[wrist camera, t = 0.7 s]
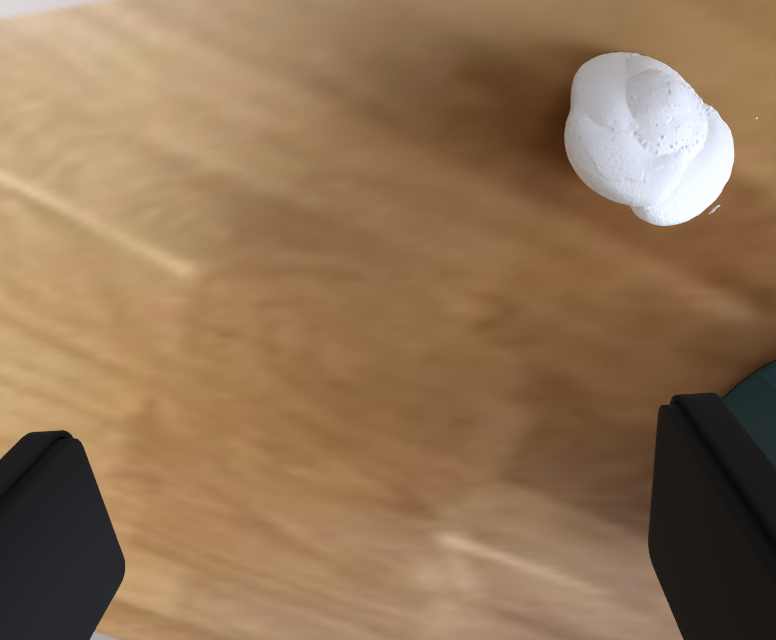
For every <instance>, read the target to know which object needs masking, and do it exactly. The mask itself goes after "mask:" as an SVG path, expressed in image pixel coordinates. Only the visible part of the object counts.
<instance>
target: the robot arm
mask: <svg viewBox="0 0 776 640" xmlns="http://www.w3.org/2000/svg"><path fill="white" fill-rule="evenodd" d="M648 546H649V554H650V558H651V562H652V565H653V567H654V570H655V572H656V575H657V577H658V579H659V582H660V584H661V587H662V589H663V591H664V594H665V596H666V599H667V601H668V603H669V606H670V608H671V611H672V613H673V615H674V618H675V620H676V623H677V625H678V627H679V630H680V632H681V635H682V637H683V639H684V640H776V468H775V467H774V465H773V464H772V463H771V462H770V460H769V459H768V458H767V457H766V455H765V454H764V453H763V451H762V450H761V449H760V448H759V446H758V445H757V444H756V443H755V441H754V440H753V439H752V438H751V436H750V435H749V434H748V433H747V431H746V430H745V429H744V428H743V426H742V425H741V424H740V422H739V421H738V420H737V419H736V417H735V416H734V415H733V414H732V412H731V411H730V410H729V409H728V407H727V406H726V405H725V404H724V402H723V401H722V400H721V399H720V397H719V396H718V395H717V394H715V393H699V394H682V395H674V396H673V397H672V399H671V402H670V405H662V406H660V408H659V412H658V423H657V435H656V448H655V460H654V473H653V485H652V498H651V511H650V523H649V536H648ZM124 573H125V560H124V556H123V553H122V551H121V548H120V545H119V543H118V540H117V537H116V534H115V532H114V529H113V526H112V523H111V521H110V518H109V515H108V513H107V510H106V507H105V504H104V502H103V499H102V496H101V494H100V491H99V488H98V485H97V483H96V480H95V477H94V474H93V472H92V469H91V466H90V464H89V461H88V458H87V455H86V453H85V450H84V447H83V445H82V443H81V442H80V441H79V440H78V439H75V438H73V437H72V435H71V434H70V433H69V432H67V431H64V430H61V431H44V432H32V433H28V434H26V435H25V436H24V437H22V438H21V439H20V440H19V441H18V442H17V443H16V444H15V445H14V446H13V447H12V448H11V449H10V450H9V451H8V452H7V453H6V454H5V455H4V456H3V457H2V458H1V459H0V640H90V638H91V636H92V634H93V632H94V631H95V629H96V627H97V625H98V624H99V622H100V620H101V618H102V616H103V615H104V613H105V611H106V609H107V608H108V606H109V604H110V602H111V600H112V599H113V597H114V595H115V593H116V591H117V590H118V588H119V586H120V584H121V582H122V580H123V577H124Z"/></svg>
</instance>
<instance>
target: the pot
mask: <svg viewBox="0 0 776 640" xmlns="http://www.w3.org/2000/svg"><path fill="white" fill-rule="evenodd" d="M722 401H723V402H724V404H725V405H726V406H727V407H728V409H729V410H730V411H731V412H732V414H733V415H734V416H735V417H736V419H737V420H738V421H739V422H740V424H741V425H742V426H743V428H744V429H745V430H746V431H747V433H748V434H749V435H750V436H751V438H752V439H753V440H754V441H755V443H756V444H757V445H758V446H759V448H760V449H761V450H762V451H763V453H764V454H765V455H766V457H767V458H768V459H769V460H770V462H771V463H772V464H773V465H774V467H775V468H776V361H774V362H772V363H770V364H768V365H766V366H765V367H763V368H761V369H760V370H758V371H757V372H755V373H754V374H752V375H751V376H749V377H748V378H746V379H745V380H744V381H743V382H741V383H740V384H739V385H738V386H737V387H735V388H734V389H733V390H732V391H731V392H730V393H729V394H728V395H727V396H726V397H725V398H724V399H723V400H722Z"/></svg>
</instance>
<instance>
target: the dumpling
mask: <svg viewBox="0 0 776 640" xmlns="http://www.w3.org/2000/svg"><path fill="white" fill-rule="evenodd" d="M570 100H571V106H570V107H571V110H570V112H569V115H568V118H567V120H566V126H565V132H564V143H565V148H566V153H567V156H568V159H569V161H570V163H571V165H572V167H573V169H574V170H575V172H576V173H577V175H578V176H579V177H580V179H581V180H582V181H583V182H584V183H585V184H586V185H587V186H588V187H589V188H591V189H592V190H593V191H595V192H596V193H598V194H600V195H602V196H603V197H605V198H607V199H609V200H612V201H614V202H617V203H621V204H626V205H629V206H630V207H631V209H632V210H633V212H634V213H635V214H636V215H637V216H638V217H639V218H641V219H643V220H644V221H646V222H648V223H651V224H654V225H659V226H670V225H676V224H680V223H683V222H686V221H688V220H690V219H692V218H693V217H695V216H697V215H699V214H700V213H702V212H703V210H705V209H706V208H707V207H708V206H709V205H711V204H712V203H713V202H714V201H715V200H716V198H717V197H718V196H719V195H720V193H721V191H722V190H723V187H724V185H725V184H726V182H727V181H728V180H729V177H730V175H731V169H732V165H733V162H734V147H733V138H732V134H731V131H730V129H729V127H728V125H727V124H726V123H725V122H724V121H723V120H722V119H721V117H720V116H719V114H718V112H717V111H716V110H715V109H714V108H712V107H711V105H709V106H708V105H707V104H706V103H705V104H704V103H703V101H702V99H701V98H699V95H697V94H696V93H695V92H694V89H692V87H690V85H689V83H686V82H685V80H684V79H683V78H682V77H681V76H680V75H679V74H678V73H677V71H674V70H673V69H671V68H670V66H667V65H666V64H664V63H662V62H660V61H658V60H656V59H652V58H650V57H649V56H647V57H646V56H641V55H639V54H638V53H628V52H624V53H623V52H617V53H614V52H612V53H607V54H602V55H599V56H596V57H595V58H592V59H590V60H589V61H587V62H586V63H584V64H583V65H582V66H581V67H580V68H579V69H578V71H577V72H576V74H575V76H574V79H573V83H572V89H571V98H570ZM755 119H758V117H756V118H755ZM718 207H720V205H718V206H716V207H715V208H714V209H713V210H712V211H710V213H713V212H714V211H715V210H716V209H717V208H718ZM710 213H709V214H710ZM709 214H708V215H709Z"/></svg>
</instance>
